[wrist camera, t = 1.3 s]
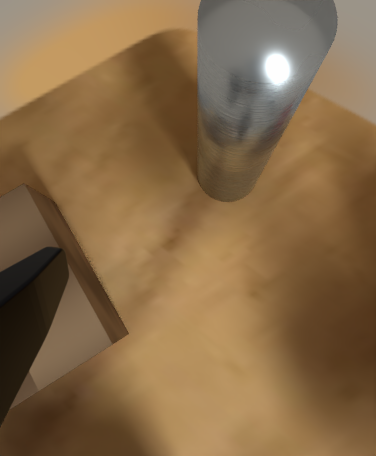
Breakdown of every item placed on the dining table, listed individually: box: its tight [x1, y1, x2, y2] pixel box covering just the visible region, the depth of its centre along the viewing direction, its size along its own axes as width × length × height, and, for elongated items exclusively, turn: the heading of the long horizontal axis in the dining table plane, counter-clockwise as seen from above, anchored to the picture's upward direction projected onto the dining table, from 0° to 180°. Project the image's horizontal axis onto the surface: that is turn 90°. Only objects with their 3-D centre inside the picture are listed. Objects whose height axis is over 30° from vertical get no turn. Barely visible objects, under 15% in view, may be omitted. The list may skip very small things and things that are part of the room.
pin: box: [198, 0, 337, 202], centre depth 16 cm, size 4×4×13 cm
